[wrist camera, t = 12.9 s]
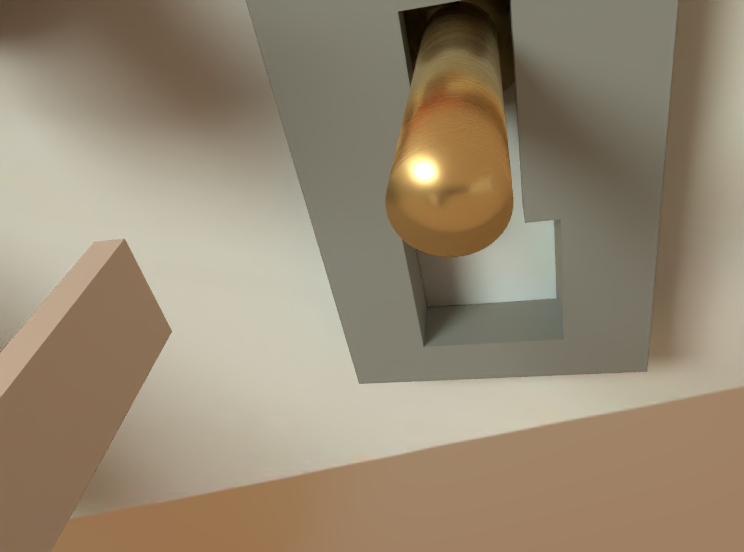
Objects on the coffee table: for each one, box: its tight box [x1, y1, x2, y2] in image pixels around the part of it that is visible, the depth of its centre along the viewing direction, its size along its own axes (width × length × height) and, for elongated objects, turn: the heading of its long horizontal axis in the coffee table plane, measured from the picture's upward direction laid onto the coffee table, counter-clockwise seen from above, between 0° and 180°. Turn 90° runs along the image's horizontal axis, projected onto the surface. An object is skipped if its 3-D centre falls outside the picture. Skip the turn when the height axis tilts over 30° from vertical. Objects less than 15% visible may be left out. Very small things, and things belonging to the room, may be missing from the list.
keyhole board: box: [246, 0, 678, 384], centre depth 27 cm, size 15×24×3 cm, turn 11°
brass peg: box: [385, 0, 515, 257], centre depth 20 cm, size 6×6×14 cm
